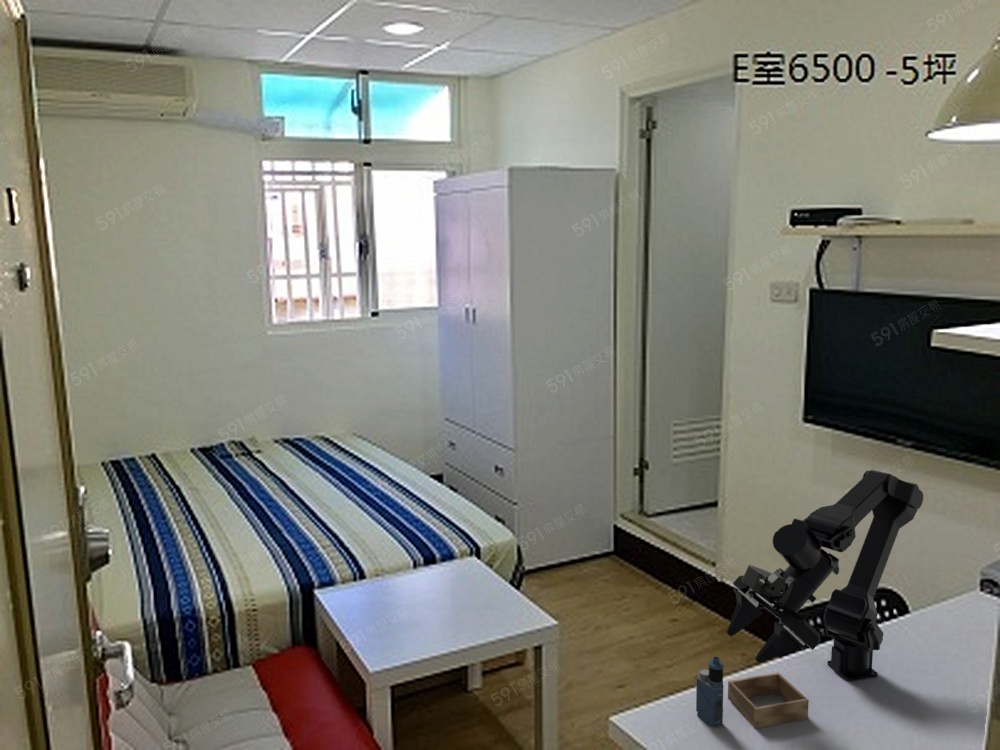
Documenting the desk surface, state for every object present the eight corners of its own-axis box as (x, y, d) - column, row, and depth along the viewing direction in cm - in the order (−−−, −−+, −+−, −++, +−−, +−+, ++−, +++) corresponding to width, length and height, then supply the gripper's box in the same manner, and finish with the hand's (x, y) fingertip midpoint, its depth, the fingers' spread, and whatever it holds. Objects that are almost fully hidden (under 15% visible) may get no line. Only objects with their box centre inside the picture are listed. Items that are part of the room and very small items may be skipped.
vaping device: (714, 729, 132) (715, 663, 130) (693, 713, 136) (693, 649, 134) (726, 724, 133) (727, 659, 131) (704, 709, 138) (705, 645, 136)
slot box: (777, 690, 143) (778, 672, 142) (807, 718, 134) (808, 699, 133) (727, 699, 140) (728, 681, 140) (755, 728, 132) (755, 709, 131)
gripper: (743, 531, 141) (686, 597, 141) (806, 572, 123) (741, 648, 123) (781, 567, 144) (725, 632, 144) (848, 613, 126) (785, 686, 126)
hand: (742, 647), depth 134 cm, fingers open, 9 cm apart
